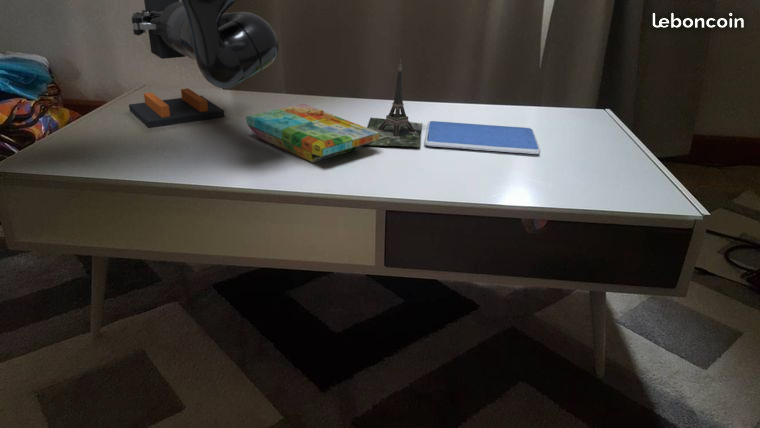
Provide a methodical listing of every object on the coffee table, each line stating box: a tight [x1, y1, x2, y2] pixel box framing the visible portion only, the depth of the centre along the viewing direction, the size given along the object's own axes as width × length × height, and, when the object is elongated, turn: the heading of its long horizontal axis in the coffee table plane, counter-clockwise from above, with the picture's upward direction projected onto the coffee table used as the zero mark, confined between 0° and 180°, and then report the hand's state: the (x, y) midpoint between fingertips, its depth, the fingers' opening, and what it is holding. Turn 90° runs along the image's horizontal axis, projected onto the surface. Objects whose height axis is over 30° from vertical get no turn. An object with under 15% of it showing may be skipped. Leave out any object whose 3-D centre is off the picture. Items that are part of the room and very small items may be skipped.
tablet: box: [423, 120, 541, 155], centre depth 100 cm, size 19×13×1 cm, turn 83°
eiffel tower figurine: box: [362, 58, 423, 148], centre depth 99 cm, size 15×10×13 cm
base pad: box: [128, 87, 226, 129], centre depth 107 cm, size 14×12×3 cm
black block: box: [143, 0, 187, 60], centre depth 96 cm, size 4×6×10 cm, turn 36°
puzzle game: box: [245, 103, 380, 163], centre depth 94 cm, size 12×5×20 cm
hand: (158, 15), depth 97 cm, fingers closed on black block, 4 cm apart
